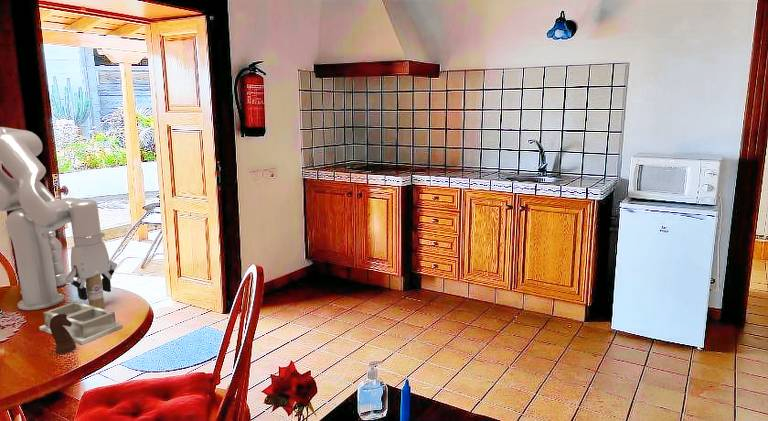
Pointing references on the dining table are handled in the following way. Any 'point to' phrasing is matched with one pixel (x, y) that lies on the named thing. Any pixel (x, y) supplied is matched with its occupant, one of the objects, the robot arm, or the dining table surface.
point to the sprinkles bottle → (95, 291)
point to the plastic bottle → (56, 257)
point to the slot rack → (83, 321)
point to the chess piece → (62, 334)
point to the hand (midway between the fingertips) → (95, 294)
